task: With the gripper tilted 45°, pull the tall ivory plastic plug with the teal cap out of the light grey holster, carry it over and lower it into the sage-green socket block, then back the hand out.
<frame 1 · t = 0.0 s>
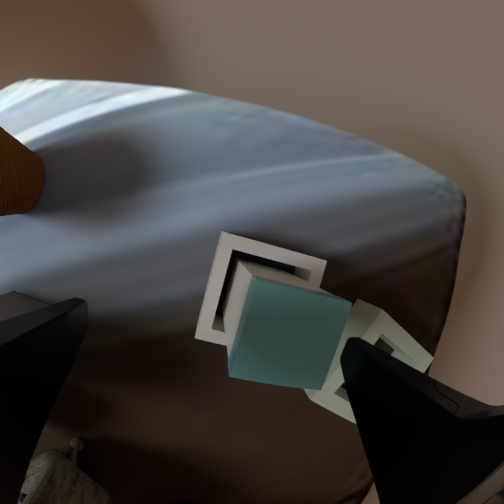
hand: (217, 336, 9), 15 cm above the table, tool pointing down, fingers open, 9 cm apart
holster: (254, 290, 25), on the table
perfume bottle: (36, 330, 22), on the table
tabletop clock: (74, 463, 23), on the table
socket block: (358, 360, 27), on the table
disposable coffee cup: (23, 183, 21), on the table
plug: (267, 307, 19), in the holster
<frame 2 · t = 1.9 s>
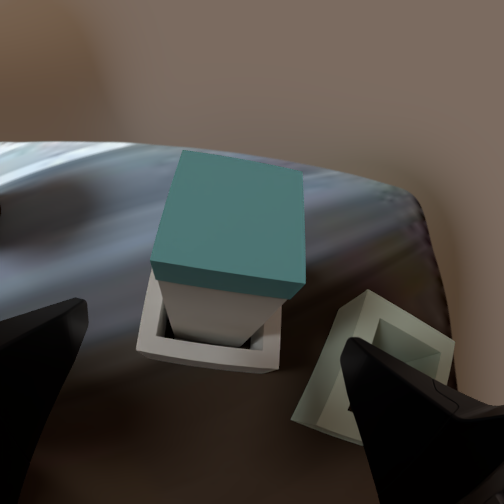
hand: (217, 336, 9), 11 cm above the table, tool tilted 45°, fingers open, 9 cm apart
holster: (211, 312, 20), on the table
socket block: (366, 385, 20), on the table
plug: (218, 280, 15), in the holster
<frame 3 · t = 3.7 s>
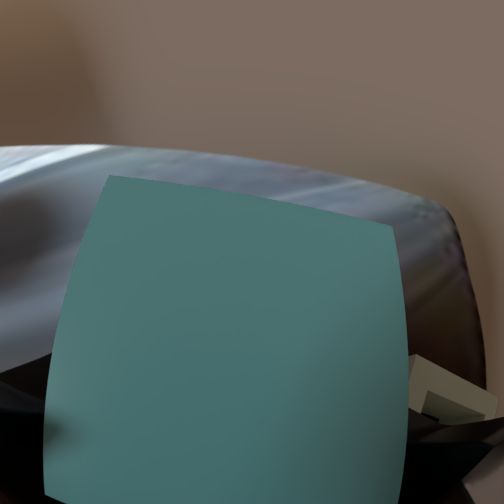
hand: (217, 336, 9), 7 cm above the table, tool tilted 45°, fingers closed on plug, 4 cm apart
socket block: (396, 452, 13), on the table
plug: (212, 379, 9), in the holster, touching gripper
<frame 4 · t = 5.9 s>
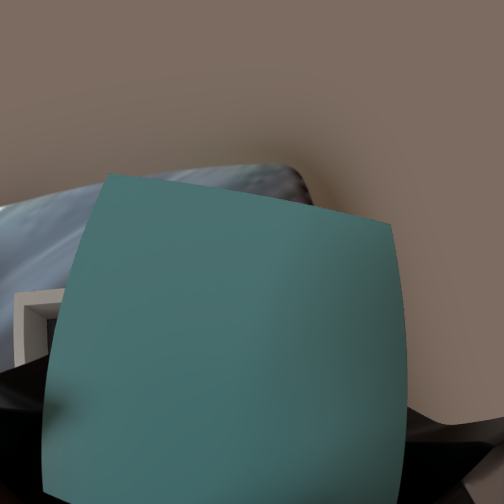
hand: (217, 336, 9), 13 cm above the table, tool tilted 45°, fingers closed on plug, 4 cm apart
holster: (79, 354, 18), on the table
plug: (211, 378, 9), point 13 cm above the table, touching gripper
when the fingers open (7 cm above the table, at t = 7.9 s): plug stays where it is, resting in socket block.
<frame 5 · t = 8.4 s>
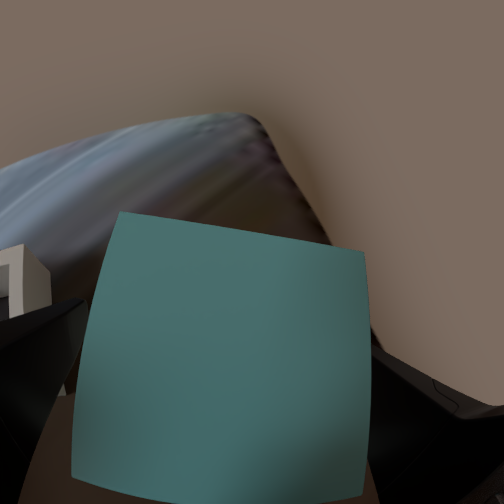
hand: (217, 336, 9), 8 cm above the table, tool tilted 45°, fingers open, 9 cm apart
holster: (8, 339, 13), on the table
plug: (210, 379, 9), in the socket block
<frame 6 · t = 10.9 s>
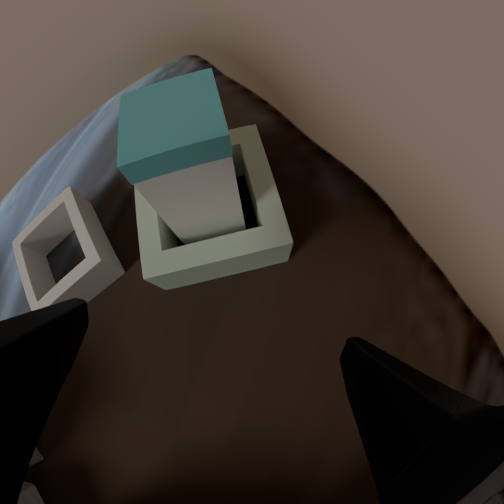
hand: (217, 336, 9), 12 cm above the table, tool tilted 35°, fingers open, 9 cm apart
holster: (75, 262, 22), on the table
socket block: (213, 218, 23), on the table
plug: (196, 179, 17), in the socket block
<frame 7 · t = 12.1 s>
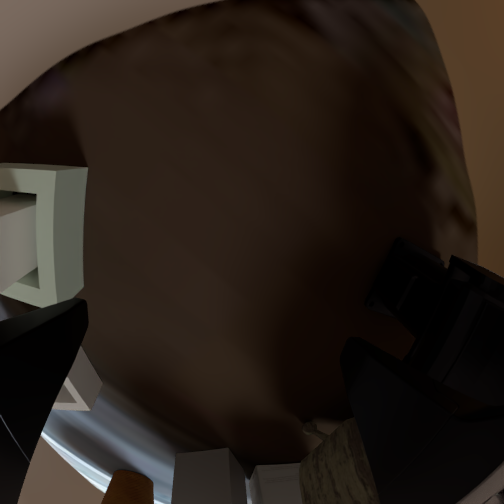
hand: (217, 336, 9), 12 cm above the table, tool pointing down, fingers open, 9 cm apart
skincare box: (281, 470, 31), on the table
holster: (55, 354, 22), on the table
perfume bottle: (211, 462, 29), on the table
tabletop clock: (356, 412, 28), on the table
socket block: (37, 222, 18), on the table
disposable coffee cup: (133, 478, 30), on the table
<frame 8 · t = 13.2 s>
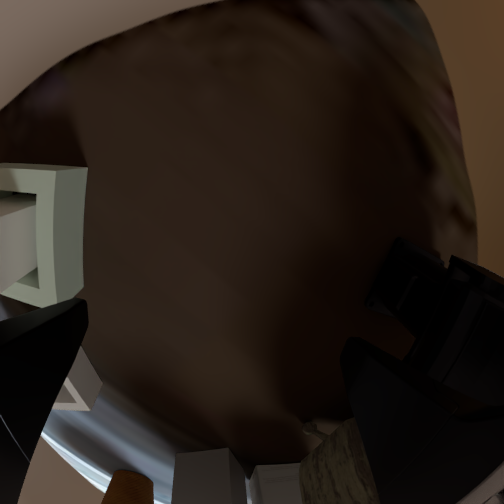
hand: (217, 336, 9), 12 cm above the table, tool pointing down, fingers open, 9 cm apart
skincare box: (281, 470, 31), on the table
holster: (55, 354, 22), on the table
perfume bottle: (211, 462, 29), on the table
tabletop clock: (356, 412, 28), on the table
socket block: (37, 222, 18), on the table
disposable coffee cup: (133, 478, 30), on the table
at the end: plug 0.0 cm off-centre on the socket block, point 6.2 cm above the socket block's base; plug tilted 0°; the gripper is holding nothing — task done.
